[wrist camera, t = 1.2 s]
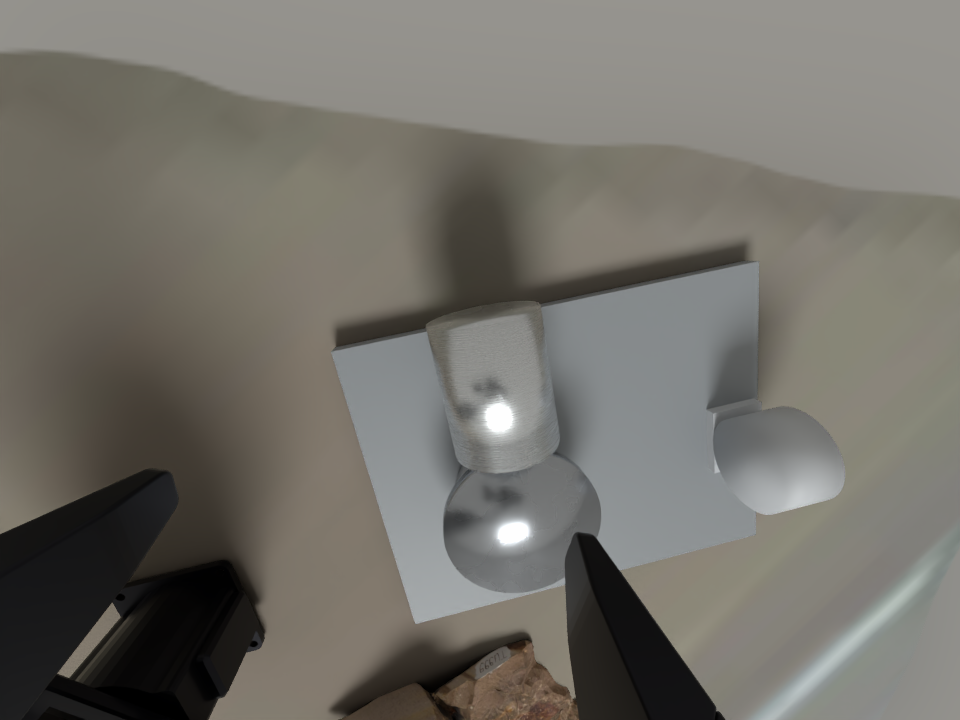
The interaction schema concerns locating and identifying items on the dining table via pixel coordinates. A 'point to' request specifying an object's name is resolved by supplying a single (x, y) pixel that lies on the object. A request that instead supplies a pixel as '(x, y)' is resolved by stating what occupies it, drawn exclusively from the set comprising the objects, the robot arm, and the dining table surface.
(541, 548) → the elbow
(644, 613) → the robot arm
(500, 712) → the fossil
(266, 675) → the dining table surface
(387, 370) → the grey plate with knobs
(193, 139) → the dining table surface
